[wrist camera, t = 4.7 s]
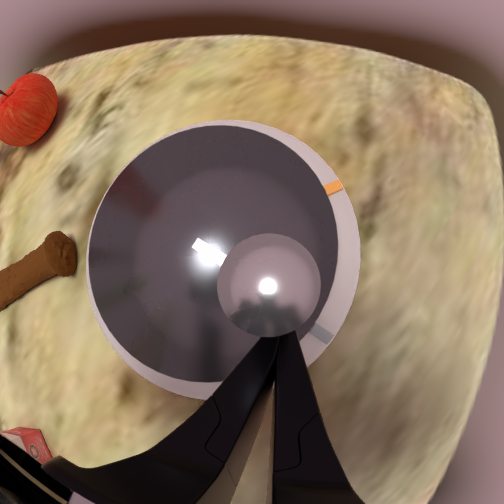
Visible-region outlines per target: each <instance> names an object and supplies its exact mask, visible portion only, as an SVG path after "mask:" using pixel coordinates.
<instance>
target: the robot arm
mask: <svg viewBox="0 0 504 504" xmlns="http://www.w3.org/2000/svg"><path fill="white" fill-rule="evenodd" d="M273 385H274V391H273V410H272V428H271V444H270V460H269V474H268V487H267V500H266V504H365V503H364V502H363V501H362V500H361V499H360V497H359V496H358V495H357V494H356V493H355V491H354V490H353V488H352V487H351V485H350V483H349V481H348V479H347V477H346V475H345V473H344V471H343V469H342V466H341V464H340V462H339V460H338V458H337V456H336V453H335V451H334V449H333V447H332V444H331V442H330V439H329V437H328V434H327V431H326V428H325V425H324V422H323V419H322V416H321V413H320V409H319V406H318V402H317V399H316V396H315V392H314V389H313V385H312V382H311V379H310V375H309V372H308V369H307V365H306V362H305V359H304V355H303V352H302V349H301V346H300V342H299V339H298V336H297V333H296V330H294V331H292V332H289V333H287V334H284V335H281V336H275V337H260V338H259V339H258V341H257V342H256V343H255V344H254V346H253V347H252V348H251V349H250V350H249V352H248V353H247V354H246V355H245V356H244V358H243V359H242V360H241V361H240V362H239V364H238V365H237V366H236V367H235V368H234V369H233V371H232V372H231V373H230V374H229V375H228V376H227V378H226V379H225V380H224V381H223V382H222V383H221V385H220V386H219V387H218V388H217V389H216V390H215V391H214V393H213V394H212V395H213V396H212V395H211V396H210V397H209V398H208V399H207V400H206V401H205V403H204V404H203V405H202V406H201V407H200V408H199V409H198V410H197V411H196V412H195V413H194V414H193V415H192V416H191V417H189V418H188V419H187V420H186V421H185V422H184V423H183V424H181V425H180V426H179V427H178V428H176V429H175V430H174V431H173V432H172V433H170V434H169V435H168V436H167V437H165V438H164V439H163V440H161V441H160V442H159V443H158V444H156V445H155V446H154V447H152V448H150V449H149V450H147V451H145V452H143V453H141V454H138V455H135V456H132V457H129V458H126V459H123V460H120V461H117V462H113V463H110V464H107V465H103V466H99V467H95V468H82V467H78V466H77V465H75V464H73V463H72V462H70V461H68V460H67V459H65V458H63V457H62V456H57V457H55V458H52V459H50V460H48V461H47V462H45V463H44V464H42V463H41V462H40V461H38V460H37V459H36V458H34V457H33V456H32V455H30V454H29V453H28V452H26V451H25V450H24V449H22V448H21V447H20V446H18V445H17V444H16V443H14V442H13V441H11V440H10V439H8V438H7V437H6V436H4V435H3V434H2V433H0V504H230V502H231V500H232V497H233V495H234V492H235V490H236V487H237V485H238V482H239V480H240V477H241V475H242V472H243V470H244V467H245V465H246V462H247V459H248V457H249V454H250V452H251V449H252V446H253V443H254V441H255V438H256V435H257V433H258V430H259V427H260V424H261V421H262V419H263V416H264V413H265V410H266V407H267V404H268V401H269V398H270V395H271V392H272V389H273Z"/></svg>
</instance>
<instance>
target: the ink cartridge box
mask: <svg viewBox="0 0 504 504" xmlns="http://www.w3.org/2000/svg"><path fill="white" fill-rule="evenodd" d="M0 433H2V434H3V435H4V436H6V437H7V438H8V439H10V440H11V441H13V442H14V443H16V444H17V445H18V446H20V447H21V448H22V449H24V450H25V451H26V452H28V453H29V454H30V455H32V456H33V457H34V458H36V459H37V460H38V461H40V462H41V463H42V464H44V463H45V462H47V461H48V460H50V459H52V457H51V455H50V453H49V450H48V448H47V446H46V443H45V441H44V439H43V436H42V434H41V432H40V430H34V429H26V428H19V427H17V428H14V429H11V430H7V431H4V432H0Z"/></svg>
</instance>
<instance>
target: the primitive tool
mask: <svg viewBox="0 0 504 504" xmlns="http://www.w3.org/2000/svg"><path fill="white" fill-rule="evenodd" d="M76 263H77V259H76V249H75V247H74V244H73V242H72V241H71V240H70V239H69V238H68V237H67V236H66V235H65V234H64V233H62V232H61V231H55V232H52V233H50V234H49V235H47V237H46V238H45V241H44V242H43V243H42V245H40V246H39V247H38V248H37V249H36V250H33V251H32V252H30V253H29V254H28V255H26V256H25V257H24V258H23V259H22V260H20V261H18V262H17V263H15V264H12V265H10V266H9V267H7V268H5V269H3V270H1V271H0V311H1V310H3V309H4V308H5V307H6V306H7V305H8V304H9V303H11V302H13V301H14V300H16V299H17V298H18V297H19V296H21V295H23V294H24V293H25V292H26V291H28V290H29V289H30V288H31V287H34V286H35V285H37V284H38V283H40V282H41V281H43V280H46V279H48V278H49V277H52V276H55V275H56V274H58V275H59V276H63V277H65V276H70V275H72V274H73V273H74V271H75V269H76Z"/></svg>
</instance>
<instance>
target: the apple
mask: <svg viewBox="0 0 504 504" xmlns="http://www.w3.org/2000/svg"><path fill="white" fill-rule="evenodd" d="M0 94H3V96H2V97H1V98H0V140H2V141H3V142H4V143H6V144H8V145H11V146H26V145H29V144H32V143H34V142H35V141H37V140H38V139H39V138H41V137H42V136H43V135H44V133H45V132H46V131H47V130H48V129H49V127H50V126H51V124H52V121H53V119H54V117H55V115H56V112H57V109H58V96H57V92H56V90H55V87H54V85H53V84H52V82H51V81H50V80H49V79H48V78H47V77H45V76H43V75H40V74H36V73H31V74H26V75H24V76H22V77H20V78H19V79H17V80H16V81H15V82H14V84H12V86H11V87H10V88H9V89H8V90H7V91H6V92H5V93H4V92H3V91H1V90H0Z"/></svg>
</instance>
